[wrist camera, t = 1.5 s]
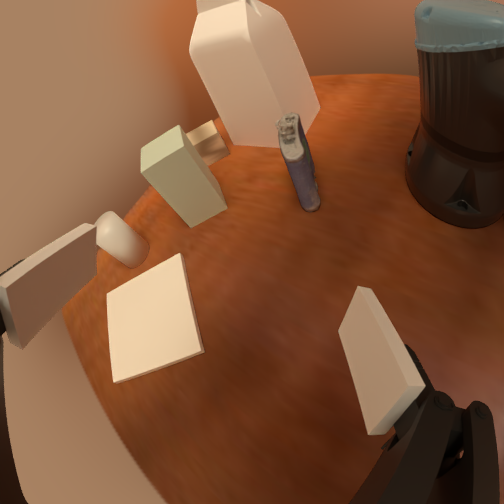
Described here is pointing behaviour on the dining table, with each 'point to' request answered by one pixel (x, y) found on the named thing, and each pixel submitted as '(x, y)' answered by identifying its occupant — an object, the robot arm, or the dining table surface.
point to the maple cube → (208, 143)
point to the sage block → (182, 177)
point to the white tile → (152, 321)
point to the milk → (251, 69)
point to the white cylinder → (121, 240)
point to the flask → (298, 160)
